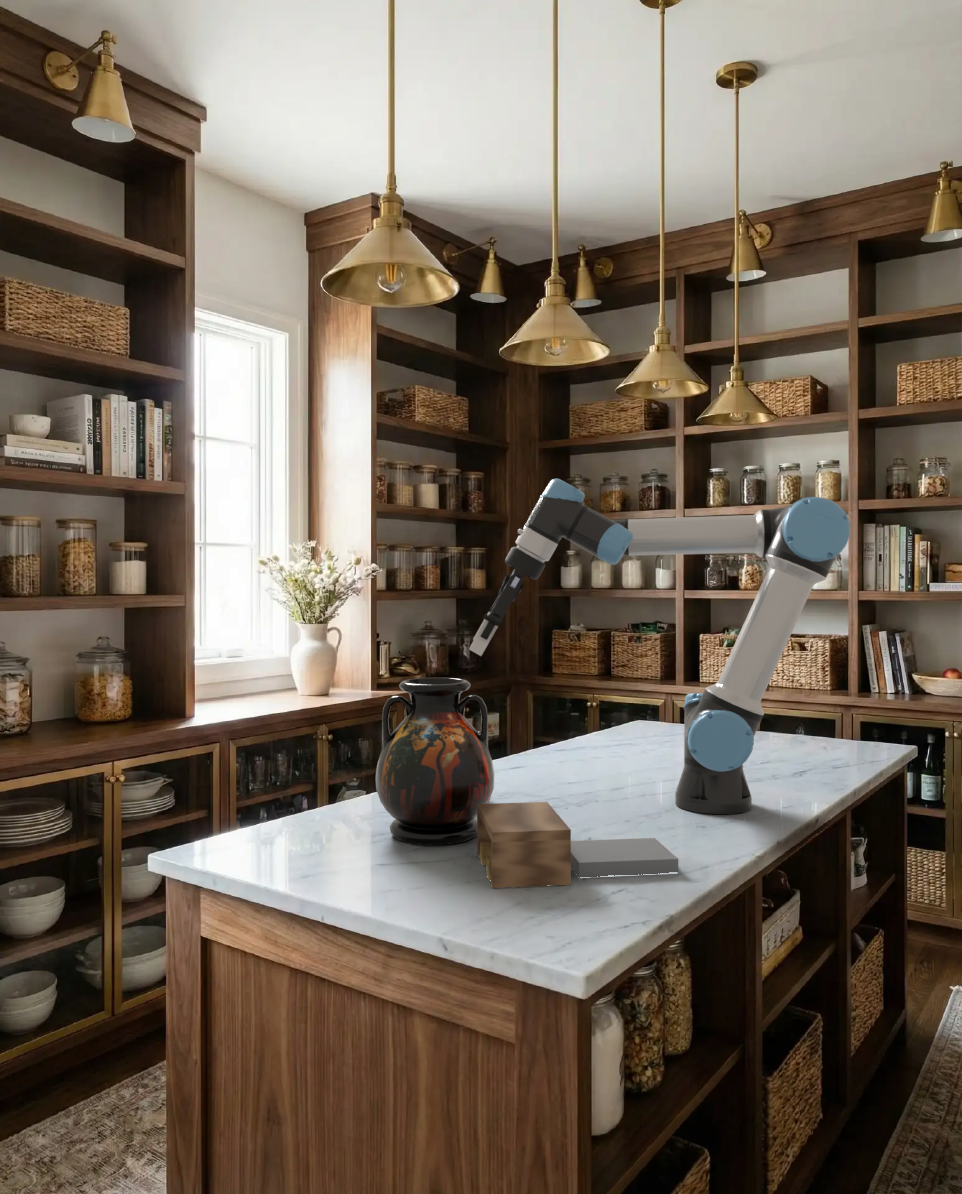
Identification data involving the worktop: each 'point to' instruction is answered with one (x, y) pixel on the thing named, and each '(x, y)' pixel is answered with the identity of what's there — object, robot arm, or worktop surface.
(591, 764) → the worktop surface
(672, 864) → the slate board
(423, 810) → the amphora vase
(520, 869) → the walnut shelf
